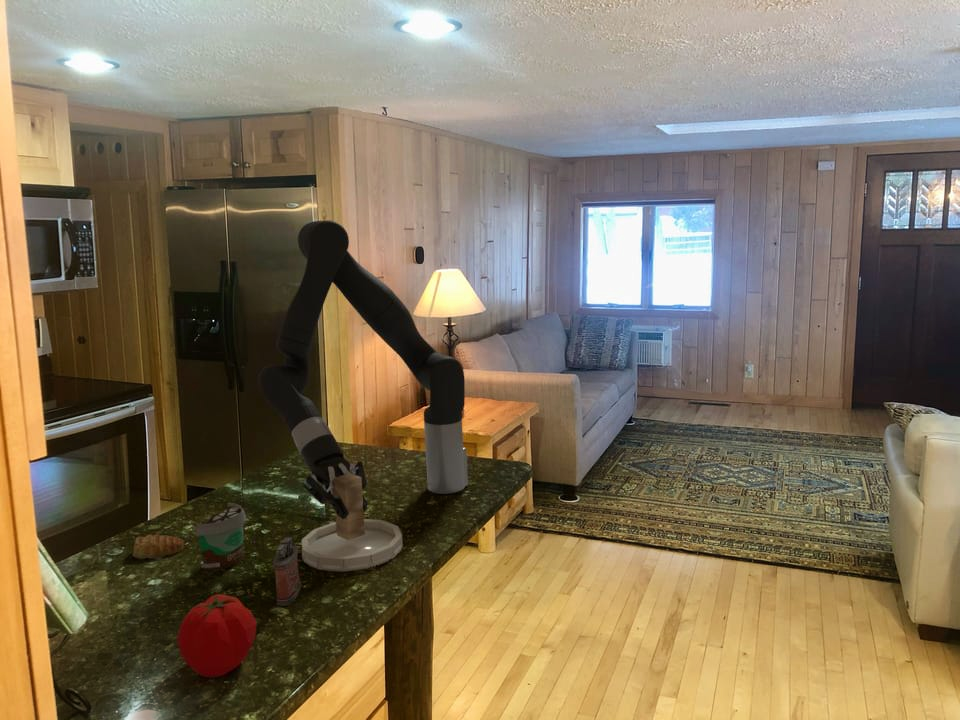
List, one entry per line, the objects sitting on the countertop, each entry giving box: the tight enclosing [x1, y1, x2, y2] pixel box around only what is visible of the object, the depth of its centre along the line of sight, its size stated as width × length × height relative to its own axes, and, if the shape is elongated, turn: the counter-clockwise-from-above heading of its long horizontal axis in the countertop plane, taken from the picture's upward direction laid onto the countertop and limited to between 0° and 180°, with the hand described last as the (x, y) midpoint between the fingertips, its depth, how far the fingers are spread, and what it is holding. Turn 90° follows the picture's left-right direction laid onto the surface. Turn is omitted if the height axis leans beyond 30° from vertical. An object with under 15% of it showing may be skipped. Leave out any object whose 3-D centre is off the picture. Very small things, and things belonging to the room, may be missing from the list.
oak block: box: [333, 473, 365, 540], centre depth 153 cm, size 4×4×12 cm
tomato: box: [176, 593, 257, 678], centre depth 114 cm, size 11×13×10 cm
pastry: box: [132, 533, 185, 560], centre depth 157 cm, size 9×7×4 cm
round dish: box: [301, 518, 404, 573], centre depth 154 cm, size 20×20×2 cm
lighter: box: [272, 536, 301, 606], centre depth 135 cm, size 8×3×10 cm, turn 178°
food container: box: [195, 502, 247, 572], centre depth 150 cm, size 12×6×10 cm, turn 168°
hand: (355, 513), depth 151 cm, fingers closed on oak block, 4 cm apart
